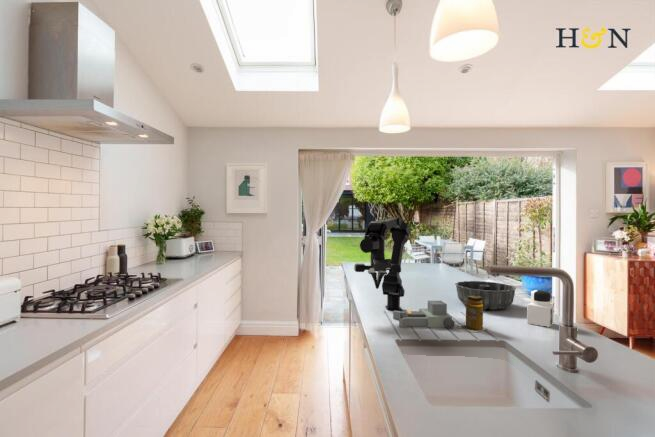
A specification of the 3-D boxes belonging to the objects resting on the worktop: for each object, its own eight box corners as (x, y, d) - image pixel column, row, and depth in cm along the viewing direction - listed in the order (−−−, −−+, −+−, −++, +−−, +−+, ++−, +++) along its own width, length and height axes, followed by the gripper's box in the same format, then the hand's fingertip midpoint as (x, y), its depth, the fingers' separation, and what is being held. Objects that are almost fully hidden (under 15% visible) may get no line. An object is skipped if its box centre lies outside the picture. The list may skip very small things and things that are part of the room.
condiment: (487, 329, 130) (488, 297, 130) (474, 333, 125) (474, 300, 125) (470, 324, 136) (470, 293, 136) (457, 327, 132) (457, 296, 132)
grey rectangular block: (404, 321, 140) (404, 310, 140) (421, 321, 140) (421, 310, 140) (407, 324, 135) (407, 313, 135) (425, 324, 135) (425, 313, 135)
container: (553, 323, 138) (554, 291, 138) (549, 328, 132) (549, 294, 132) (531, 319, 143) (532, 288, 143) (526, 323, 137) (527, 290, 137)
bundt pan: (447, 299, 179) (448, 279, 179) (499, 300, 178) (499, 280, 178) (466, 312, 153) (466, 290, 153) (527, 314, 152) (527, 291, 152)
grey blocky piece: (391, 316, 145) (392, 297, 145) (440, 317, 145) (440, 298, 145) (400, 328, 130) (400, 307, 130) (454, 328, 130) (454, 307, 130)
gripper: (357, 252, 136) (356, 292, 136) (404, 253, 136) (404, 292, 136) (354, 250, 147) (354, 286, 147) (398, 250, 147) (397, 287, 147)
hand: (377, 288), depth 144 cm, fingers closed
